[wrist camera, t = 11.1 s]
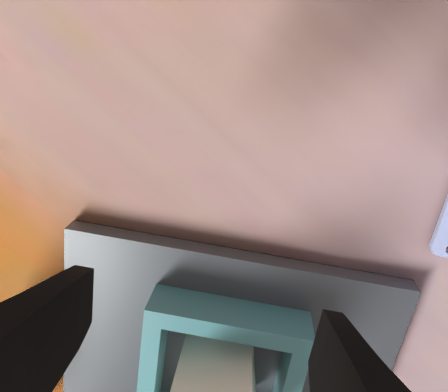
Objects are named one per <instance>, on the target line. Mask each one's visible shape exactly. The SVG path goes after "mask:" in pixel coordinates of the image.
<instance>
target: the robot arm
mask: <svg viewBox="0 0 448 392" xmlns="http://www.w3.org/2000/svg"><path fill="white" fill-rule="evenodd" d="M447 247H448V195H447V197H446V200H445V203H444V206H443V208H442V211H441V214H440V216H439V219H438V222H437V224H436V227H435V230H434V233H433V235H432V238H431V241H430V243H429V248H430V250H431V252H432V253H433V254H434V255H437V256H441V257H447V258H448V251H446V248H447ZM93 285H94V268H90V267H84V266H79V265H74V266H72V267H70V268H68V269H66V270H64V271H62V272H60V273H58V274H56V275H54V276H52V277H50V278H49V279H47V280H45V281H43V282H41V283H39V284H37V285H35V286H33V287H31V288H29V289H27V290H26V291H24V292H22V293H20V294H18V295H15V296H13V297H11V298H9V299H7V300H5V301H3V302H0V392H52V391H53V389H54V388H55V386H56V385H57V383H58V382H59V380H60V379H61V377H62V376H63V374H64V372H65V371H66V369H67V368H68V366H69V365H70V363H71V362H72V360H73V358H74V357H75V355H76V354H77V352H78V350H79V348H80V346H81V344H82V342H83V340H84V338H85V336H86V334H87V332H88V330H89V328H90V325H91V323H92V312H93ZM308 370H309V389H310V392H411V391H410V390H409V389H408V388H407V387H406V386H405V385H404V384H403V383H402V382H401V380H400V379H399V378H398V377H397V376H396V375H395V374H394V373H393V372H392V371H391V370H390V369H389V368H388V366H387V365H386V364H385V363H384V362H383V361H382V360H381V358H380V357H379V356H378V355H377V354H376V353H375V351H374V350H373V349H372V348H371V347H370V345H369V344H368V343H367V342H366V340H365V339H364V338H363V337H362V336H361V334H360V333H359V332H358V331H357V329H356V328H355V327H354V326H353V324H352V323H351V322H350V321H349V319H348V318H347V317H346V316H345V315H344V313H342V312H337V311H331V310H325V309H323V310H322V314H321V317H320V321H319V324H318V328H317V332H316V335H315V339H314V342H313V346H312V349H311V353H310V356H309V360H308Z"/></svg>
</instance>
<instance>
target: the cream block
mask: <svg viewBox="0 0 448 392" xmlns="http://www.w3.org/2000/svg"><path fill="white" fill-rule="evenodd" d="M170 392H256V381H255V363H254V346H250V345H244V344H239V343H233V342H228V341H223V340H217V339H212V338H207V337H201V336H196V335H190V334H186V336H185V339H184V343H183V347H182V350H181V354H180V357H179V361H178V365H177V368H176V372H175V376H174V379H173V383H172V386H171V390H170Z"/></svg>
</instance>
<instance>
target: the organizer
mask: <svg viewBox="0 0 448 392" xmlns="http://www.w3.org/2000/svg"><path fill="white" fill-rule="evenodd" d="M74 265H79V266H84V267H90V268H94V285H93V312H92V323H91V325H90V328H89V330H88V332H87V334H86V336H85V338H84V340H83V342H82V344H81V346H80V348H79V350H78V352H77V354H76V355H75V357H74V358H73V360H72V362H71V363H70V365H69V366H68V368H67V369H66V371H65V372H64V382H63V392H170V390H171V386H172V383H173V379H174V376H175V372H176V368H177V365H178V361H179V357H180V354H181V350H182V347H183V343H184V339H185V336H186V334H190V335H196V336H201V337H207V338H212V339H217V340H223V341H228V342H233V343H239V344H244V345H250V346H254V363H255V381H256V392H310V389H309V370H308V360H309V356H310V353H311V349H312V346H313V342H314V339H315V335H316V332H317V328H318V324H319V321H320V317H321V314H322V310H323V309H325V310H331V311H337V312H342V313H344V315H345V316H346V317H347V318H348V319H349V321H350V322H351V323H352V324H353V326H354V327H355V328H356V329H357V331H358V332H359V333H360V334H361V336H362V337H363V338H364V339H365V340H366V342H367V343H368V344H369V345H370V347H371V348H372V349H373V350H374V351H375V353H376V354H377V355H378V356H379V357H380V358H381V360H382V361H383V362H384V363H385V364H386V365H387V366H388V368H389V369H390V370H392V368H393V365H394V363H395V360H396V357H397V355H398V352H399V349H400V347H401V344H402V341H403V339H404V336H405V334H406V331H407V328H408V326H409V323H410V320H411V318H412V315H413V313H414V310H415V307H416V305H417V302H418V299H419V297H420V294H421V291H420V290H419V288H418V287H417V285H416V283H415V282H414V280H409V279H403V278H398V277H392V276H386V275H381V274H375V273H369V272H364V271H358V270H352V269H347V268H341V267H335V266H330V265H324V264H318V263H313V262H307V261H301V260H296V259H290V258H284V257H279V256H273V255H267V254H262V253H256V252H251V251H245V250H239V249H234V248H228V247H222V246H217V245H211V244H205V243H200V242H194V241H188V240H183V239H177V238H171V237H166V236H160V235H154V234H149V233H143V232H137V231H132V230H126V229H120V228H115V227H109V226H103V225H98V224H92V223H87V222H81V221H75V220H74V221H73V222H71V223H70V224H69V225H68V226H67V227H66V228H65V229H64V270H66V269H68V268H70V267H72V266H74Z"/></svg>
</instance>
